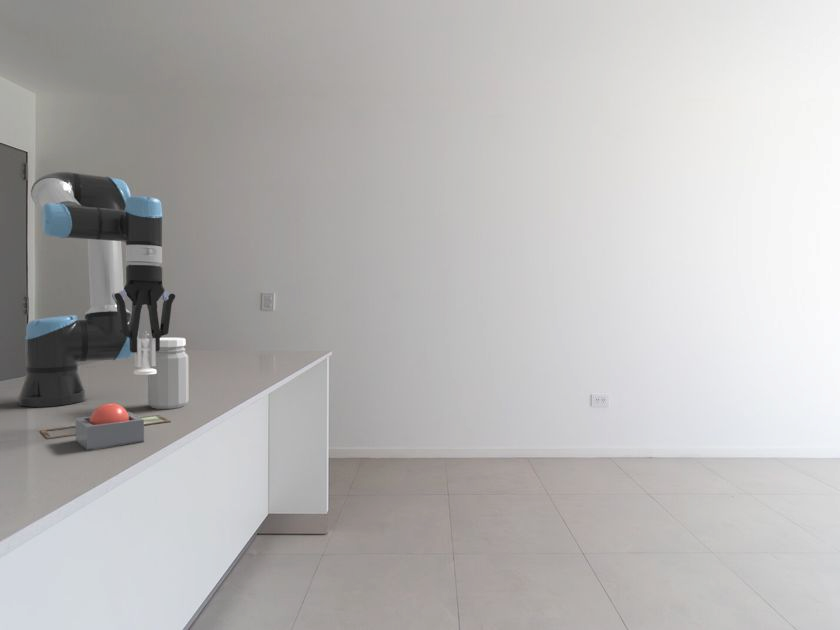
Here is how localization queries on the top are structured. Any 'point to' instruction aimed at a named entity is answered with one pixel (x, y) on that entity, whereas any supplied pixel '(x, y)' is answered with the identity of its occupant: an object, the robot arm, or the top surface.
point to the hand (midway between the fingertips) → (144, 365)
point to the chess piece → (145, 358)
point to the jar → (169, 375)
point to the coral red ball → (108, 414)
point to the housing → (109, 433)
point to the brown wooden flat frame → (147, 420)
